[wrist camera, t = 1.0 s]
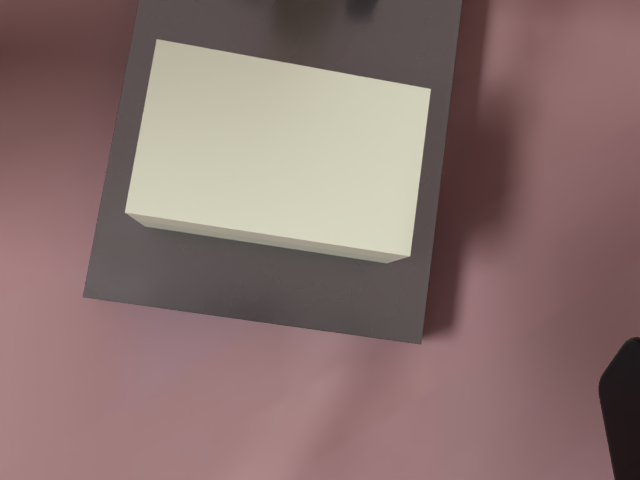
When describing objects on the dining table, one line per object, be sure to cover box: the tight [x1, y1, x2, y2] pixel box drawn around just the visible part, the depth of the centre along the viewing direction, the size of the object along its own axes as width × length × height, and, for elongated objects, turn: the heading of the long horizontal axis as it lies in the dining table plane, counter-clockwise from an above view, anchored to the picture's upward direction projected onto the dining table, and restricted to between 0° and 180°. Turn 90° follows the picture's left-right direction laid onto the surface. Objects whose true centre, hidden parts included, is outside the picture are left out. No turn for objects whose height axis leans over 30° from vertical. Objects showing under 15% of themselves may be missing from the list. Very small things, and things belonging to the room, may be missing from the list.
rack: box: [83, 0, 462, 344], centre depth 19 cm, size 18×11×5 cm, turn 172°
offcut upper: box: [125, 39, 431, 260], centre depth 17 cm, size 5×8×2 cm, turn 82°
